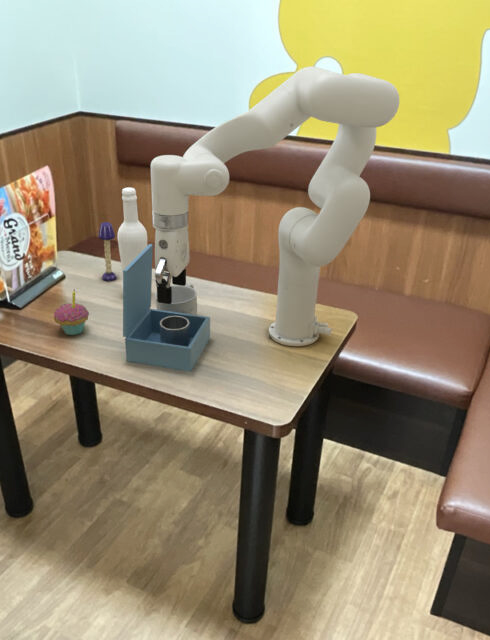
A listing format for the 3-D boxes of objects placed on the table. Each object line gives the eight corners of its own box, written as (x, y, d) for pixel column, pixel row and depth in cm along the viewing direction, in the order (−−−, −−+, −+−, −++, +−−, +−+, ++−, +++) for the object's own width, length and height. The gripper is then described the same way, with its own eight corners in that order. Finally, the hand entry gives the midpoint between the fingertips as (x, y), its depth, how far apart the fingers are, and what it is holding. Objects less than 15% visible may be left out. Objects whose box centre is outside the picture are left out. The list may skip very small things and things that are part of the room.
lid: (152, 244, 140) (149, 243, 140) (126, 270, 127) (122, 270, 128) (150, 307, 149) (147, 306, 149) (126, 337, 137) (122, 336, 137)
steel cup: (193, 345, 147) (193, 317, 142) (184, 359, 141) (183, 331, 137) (166, 341, 148) (165, 314, 144) (157, 355, 143) (155, 327, 138)
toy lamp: (111, 273, 183) (106, 219, 174) (121, 277, 181) (117, 223, 171) (99, 278, 180) (93, 224, 171) (110, 283, 178) (104, 227, 168)
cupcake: (97, 326, 156) (91, 284, 149) (77, 342, 149) (71, 298, 143) (69, 320, 159) (63, 277, 152) (49, 334, 152) (41, 291, 146)
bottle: (149, 302, 167) (143, 193, 150) (120, 302, 167) (110, 193, 150) (152, 290, 174) (146, 184, 157) (124, 289, 174) (115, 184, 157)
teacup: (179, 335, 152) (178, 306, 148) (147, 322, 158) (145, 294, 153) (212, 314, 161) (212, 286, 157) (181, 303, 167) (180, 276, 162)
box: (210, 341, 150) (210, 316, 146) (190, 374, 137) (190, 348, 134) (150, 332, 153) (149, 308, 150) (126, 364, 141) (124, 338, 137)
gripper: (173, 234, 119) (175, 312, 128) (199, 208, 133) (199, 280, 142) (138, 230, 121) (142, 307, 130) (167, 204, 134) (169, 276, 144)
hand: (172, 293), depth 136 cm, fingers open, 9 cm apart
